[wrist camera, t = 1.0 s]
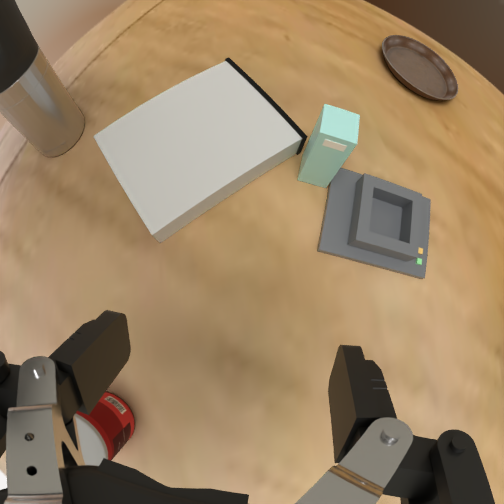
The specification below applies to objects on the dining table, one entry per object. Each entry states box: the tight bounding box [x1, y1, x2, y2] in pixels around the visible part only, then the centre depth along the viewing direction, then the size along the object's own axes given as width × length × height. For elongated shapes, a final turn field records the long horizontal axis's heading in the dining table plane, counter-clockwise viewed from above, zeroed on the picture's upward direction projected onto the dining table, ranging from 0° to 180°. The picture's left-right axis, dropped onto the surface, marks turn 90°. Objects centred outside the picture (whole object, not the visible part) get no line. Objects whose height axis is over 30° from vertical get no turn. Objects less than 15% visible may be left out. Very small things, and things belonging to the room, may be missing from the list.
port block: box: [317, 168, 430, 279], centre depth 38 cm, size 16×12×4 cm
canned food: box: [74, 392, 134, 466], centre depth 28 cm, size 8×8×11 cm
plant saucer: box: [382, 35, 458, 100], centre depth 46 cm, size 18×18×3 cm
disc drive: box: [94, 58, 307, 243], centre depth 39 cm, size 18×22×5 cm
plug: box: [297, 104, 360, 188], centre depth 35 cm, size 4×4×12 cm
